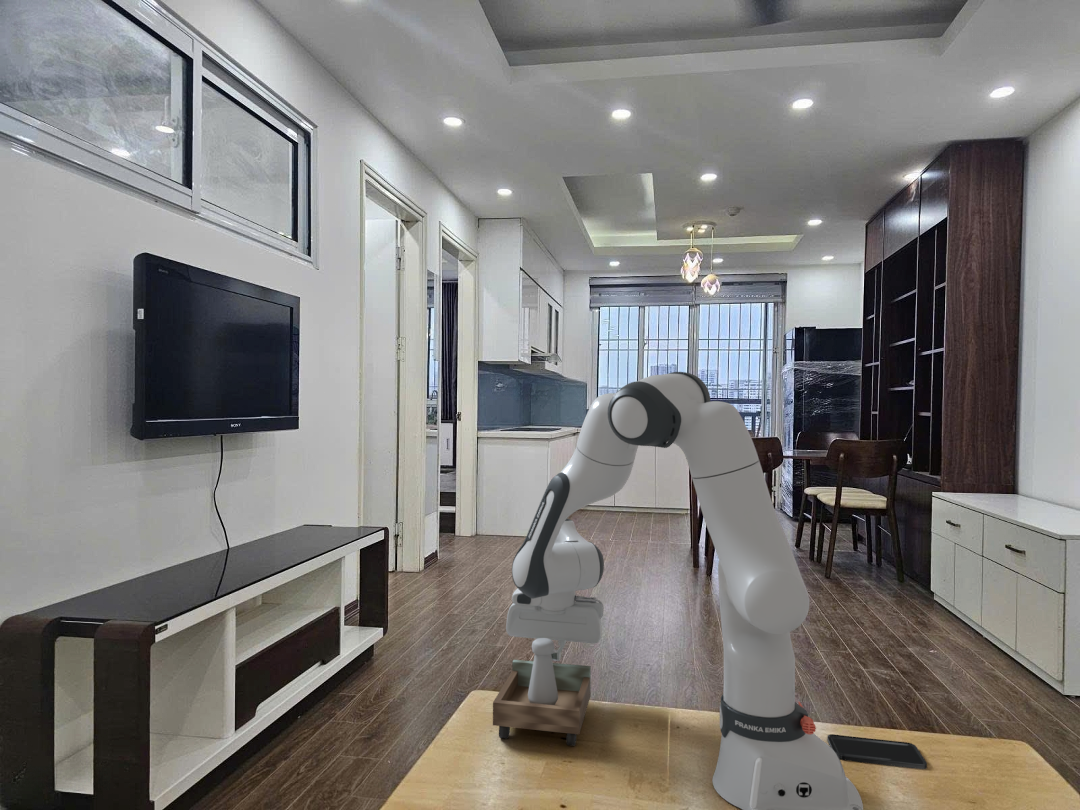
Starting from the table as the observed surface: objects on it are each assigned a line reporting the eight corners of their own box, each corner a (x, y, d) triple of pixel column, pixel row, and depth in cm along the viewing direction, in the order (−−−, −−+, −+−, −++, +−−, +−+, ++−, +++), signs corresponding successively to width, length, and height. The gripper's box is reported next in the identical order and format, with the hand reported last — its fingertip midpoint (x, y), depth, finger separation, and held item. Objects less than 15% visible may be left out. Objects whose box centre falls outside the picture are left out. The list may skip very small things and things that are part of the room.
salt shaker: (543, 698, 131) (543, 632, 131) (564, 708, 127) (564, 640, 127) (521, 708, 127) (521, 639, 127) (542, 718, 123) (542, 648, 123)
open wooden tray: (590, 710, 135) (590, 666, 135) (579, 751, 119) (579, 700, 119) (513, 702, 138) (513, 659, 138) (492, 741, 122) (493, 692, 122)
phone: (826, 733, 125) (914, 742, 122) (826, 739, 125) (914, 749, 122) (835, 755, 118) (929, 766, 114) (835, 761, 118) (929, 772, 114)
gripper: (605, 593, 142) (603, 658, 142) (511, 586, 146) (510, 649, 146) (602, 602, 136) (600, 669, 136) (504, 595, 140) (503, 660, 140)
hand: (553, 659), depth 141 cm, fingers closed
